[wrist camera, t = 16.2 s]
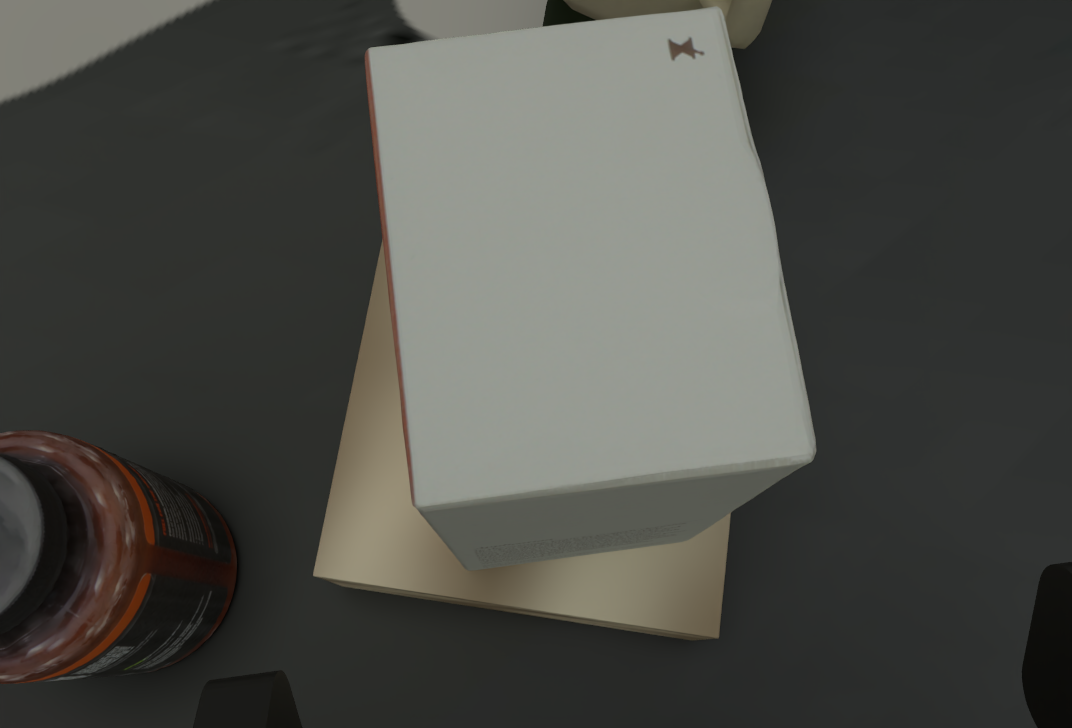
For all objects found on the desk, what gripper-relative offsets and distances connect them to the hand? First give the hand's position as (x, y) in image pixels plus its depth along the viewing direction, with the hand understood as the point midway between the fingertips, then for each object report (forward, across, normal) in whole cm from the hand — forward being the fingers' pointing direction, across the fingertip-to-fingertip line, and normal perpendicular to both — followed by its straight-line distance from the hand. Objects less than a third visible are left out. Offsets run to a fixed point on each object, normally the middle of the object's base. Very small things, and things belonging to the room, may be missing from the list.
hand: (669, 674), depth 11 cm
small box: (+16, 0, +7) cm, 18 cm away
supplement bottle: (+18, +13, +12) cm, 25 cm away
